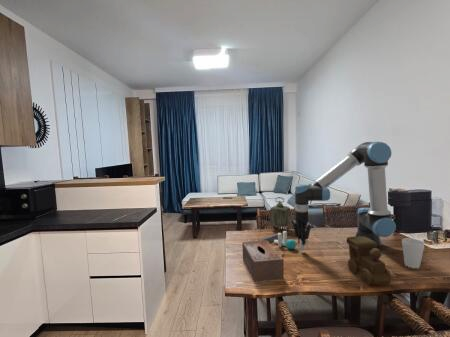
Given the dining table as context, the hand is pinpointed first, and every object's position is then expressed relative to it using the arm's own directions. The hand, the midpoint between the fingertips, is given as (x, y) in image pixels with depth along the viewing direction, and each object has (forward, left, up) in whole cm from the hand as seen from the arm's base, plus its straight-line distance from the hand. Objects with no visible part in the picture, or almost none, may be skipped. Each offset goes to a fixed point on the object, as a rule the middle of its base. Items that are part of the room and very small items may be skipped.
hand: (301, 249), depth 154 cm
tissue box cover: (+2, +32, -2) cm, 33 cm away
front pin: (+12, 0, -1) cm, 12 cm away
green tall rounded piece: (+36, -24, -2) cm, 43 cm away
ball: (+7, +1, +1) cm, 7 cm away
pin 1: (+14, +2, -2) cm, 15 cm away
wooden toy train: (-38, +2, -2) cm, 38 cm away
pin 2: (+14, -3, -2) cm, 15 cm away
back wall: (+25, 0, -2) cm, 25 cm away
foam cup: (-48, -27, -2) cm, 55 cm away
